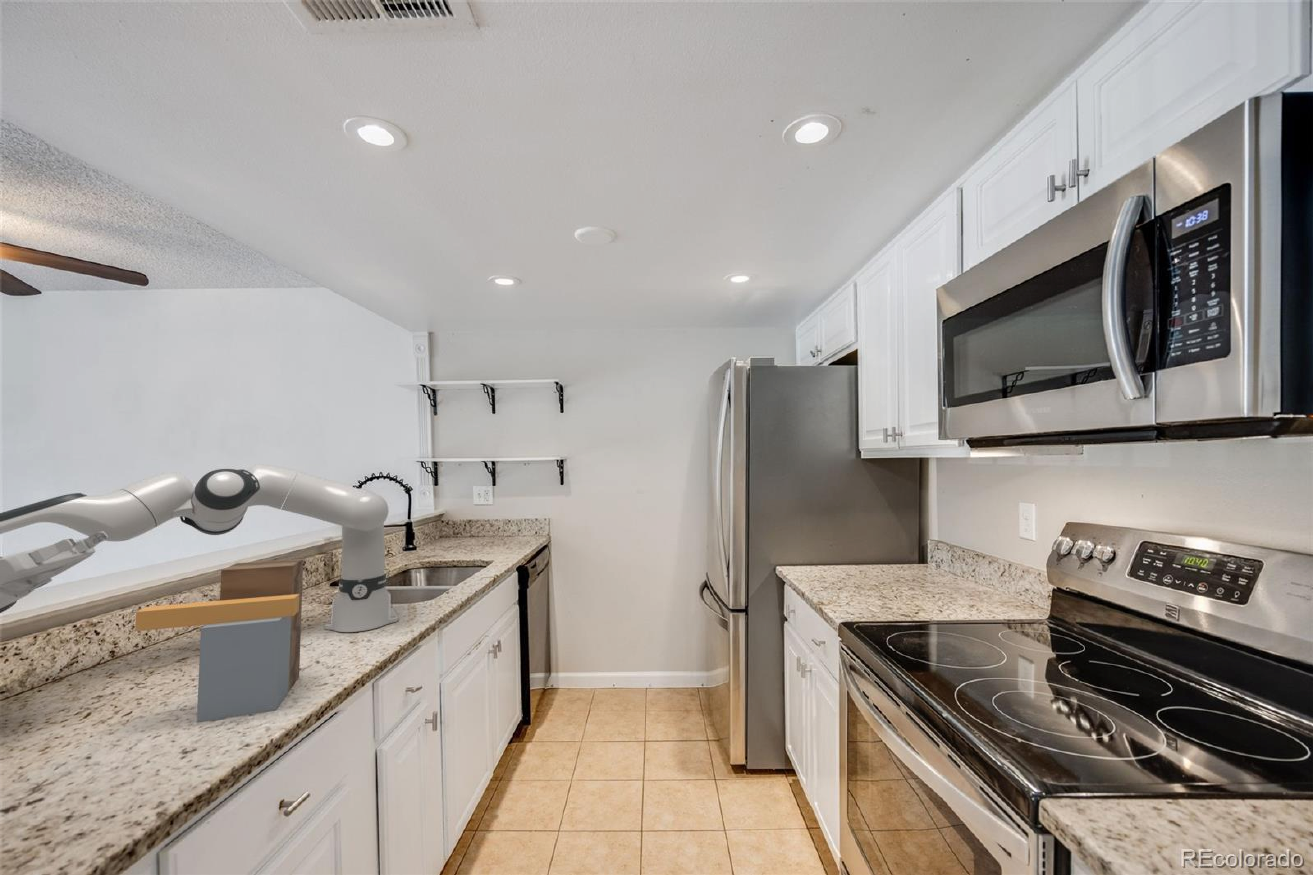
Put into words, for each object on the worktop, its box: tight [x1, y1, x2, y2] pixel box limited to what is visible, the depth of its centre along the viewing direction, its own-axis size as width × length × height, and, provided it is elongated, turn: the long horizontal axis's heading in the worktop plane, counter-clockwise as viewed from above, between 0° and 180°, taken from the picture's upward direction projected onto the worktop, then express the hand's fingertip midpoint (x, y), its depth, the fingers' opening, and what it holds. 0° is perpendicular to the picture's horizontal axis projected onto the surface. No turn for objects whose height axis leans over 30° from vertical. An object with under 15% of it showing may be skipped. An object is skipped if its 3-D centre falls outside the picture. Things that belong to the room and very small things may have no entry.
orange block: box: [134, 594, 299, 632], centre depth 97 cm, size 4×24×4 cm, turn 112°
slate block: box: [196, 616, 291, 723], centre depth 98 cm, size 8×12×17 cm, turn 112°
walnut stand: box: [219, 558, 304, 693], centre depth 106 cm, size 8×12×26 cm, turn 112°
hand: (88, 538), depth 95 cm, fingers open, 8 cm apart
